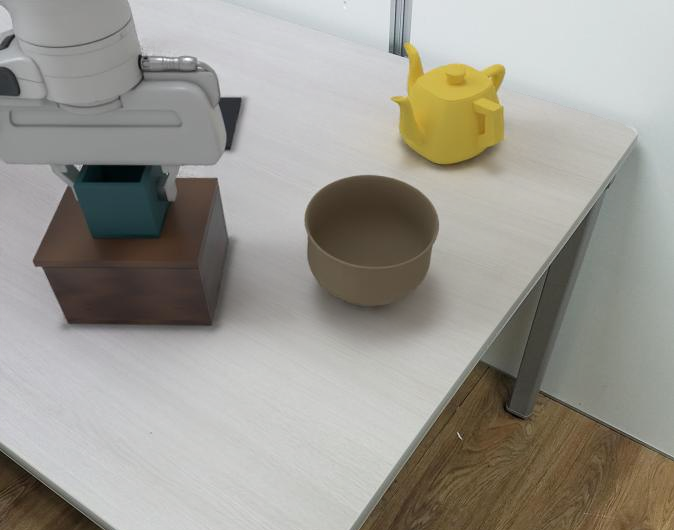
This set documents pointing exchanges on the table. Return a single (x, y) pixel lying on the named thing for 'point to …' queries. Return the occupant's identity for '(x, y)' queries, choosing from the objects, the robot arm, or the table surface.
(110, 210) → the tub
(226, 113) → the mat
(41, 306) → the table surface
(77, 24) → the robot arm
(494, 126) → the teapot
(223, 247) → the chest
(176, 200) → the chest lid
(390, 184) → the bowl
